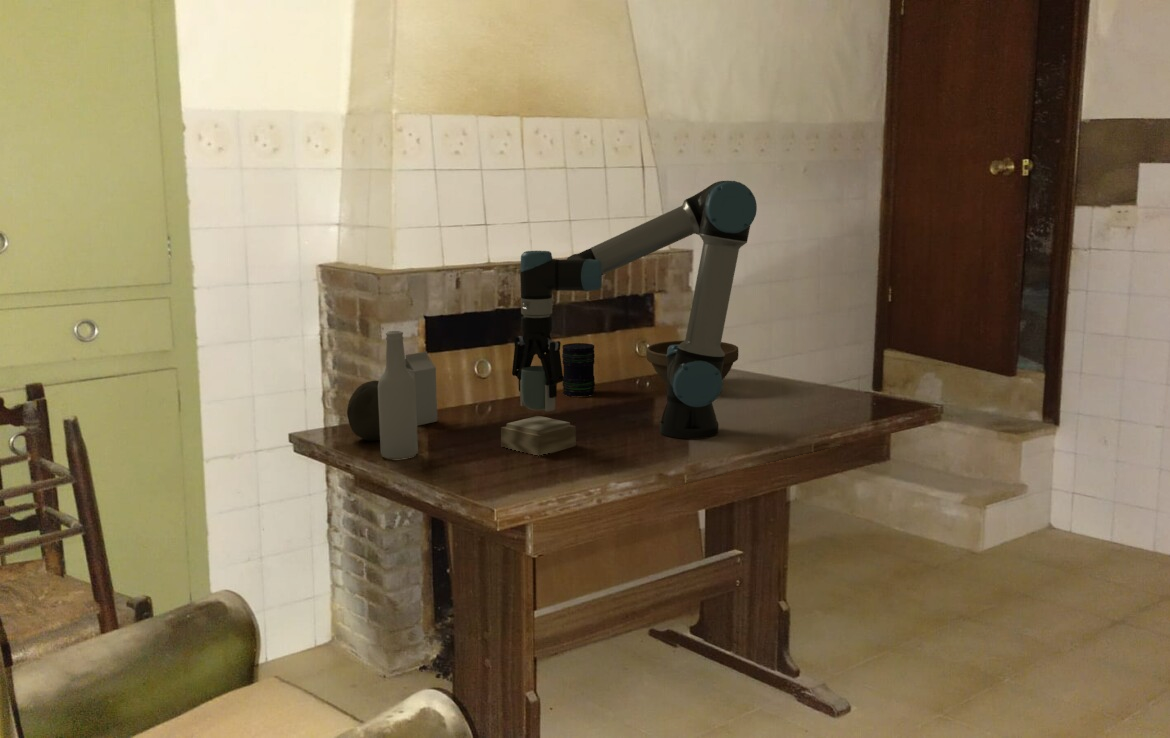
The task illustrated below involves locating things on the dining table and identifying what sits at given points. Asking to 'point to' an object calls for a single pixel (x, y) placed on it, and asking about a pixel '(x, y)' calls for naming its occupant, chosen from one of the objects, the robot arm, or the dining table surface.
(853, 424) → the dining table surface
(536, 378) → the cup
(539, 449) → the pedestal
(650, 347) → the flower pot
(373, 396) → the black ball
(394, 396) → the alcohol
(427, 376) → the milk carton
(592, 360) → the storage jar
